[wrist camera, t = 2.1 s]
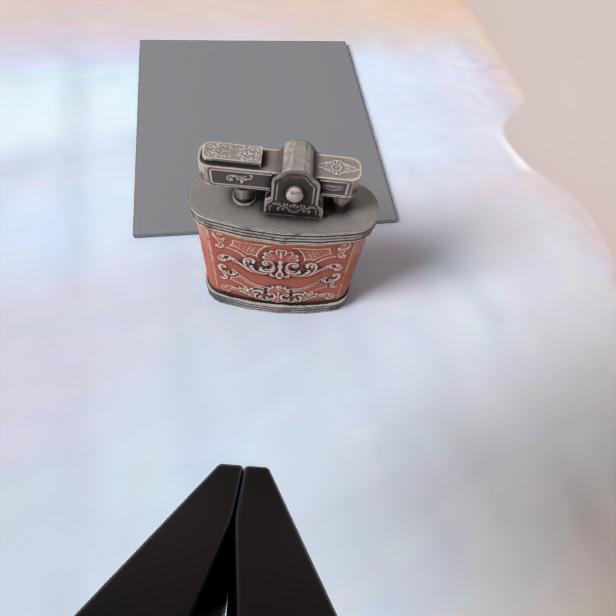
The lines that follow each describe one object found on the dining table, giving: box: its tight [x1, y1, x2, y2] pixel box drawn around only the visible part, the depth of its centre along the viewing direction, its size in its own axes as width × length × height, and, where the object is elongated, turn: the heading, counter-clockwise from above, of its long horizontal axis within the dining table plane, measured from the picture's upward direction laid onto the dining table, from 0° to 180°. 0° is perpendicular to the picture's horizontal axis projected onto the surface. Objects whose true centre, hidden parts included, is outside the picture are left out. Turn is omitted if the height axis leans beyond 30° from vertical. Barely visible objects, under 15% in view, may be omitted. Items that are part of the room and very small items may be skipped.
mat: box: [133, 40, 397, 238], centre depth 30 cm, size 18×16×1 cm
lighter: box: [187, 140, 379, 314], centre depth 20 cm, size 8×3×10 cm, turn 88°
